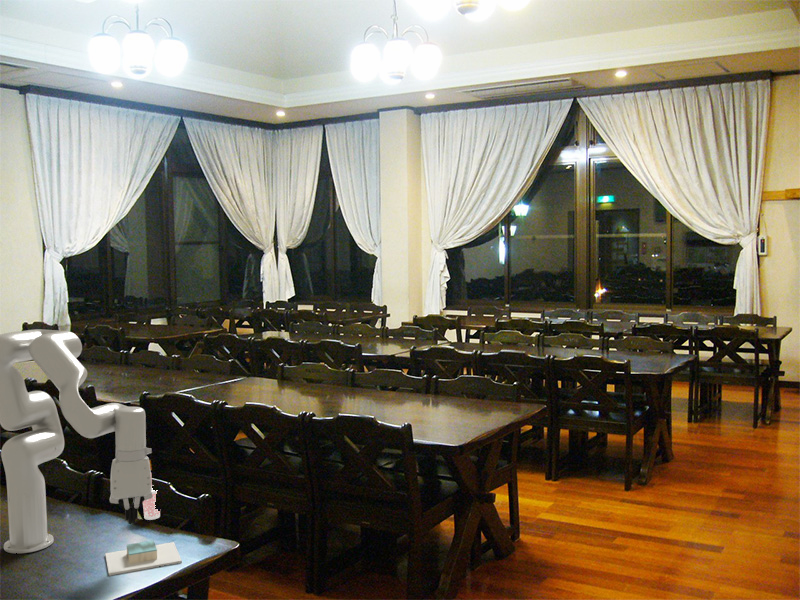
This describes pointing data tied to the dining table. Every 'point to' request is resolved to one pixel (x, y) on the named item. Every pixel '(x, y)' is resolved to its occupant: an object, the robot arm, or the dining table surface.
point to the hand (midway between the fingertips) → (131, 521)
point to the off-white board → (165, 556)
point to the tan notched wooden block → (141, 552)
